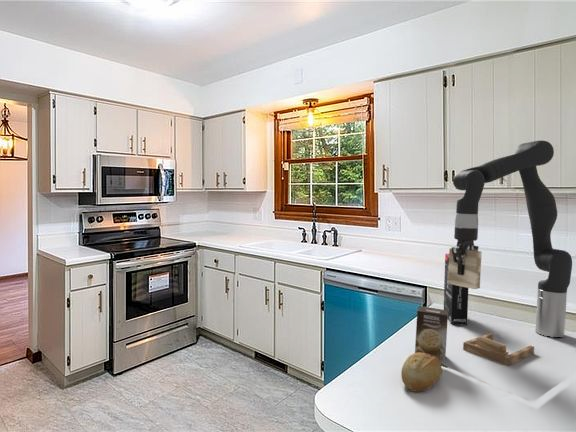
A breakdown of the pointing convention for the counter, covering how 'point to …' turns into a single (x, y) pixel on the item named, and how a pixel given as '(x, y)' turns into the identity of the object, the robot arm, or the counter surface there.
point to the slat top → (491, 344)
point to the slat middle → (500, 353)
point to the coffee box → (431, 332)
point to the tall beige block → (466, 270)
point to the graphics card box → (455, 299)
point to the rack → (496, 356)
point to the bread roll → (420, 371)
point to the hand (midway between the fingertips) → (464, 274)
